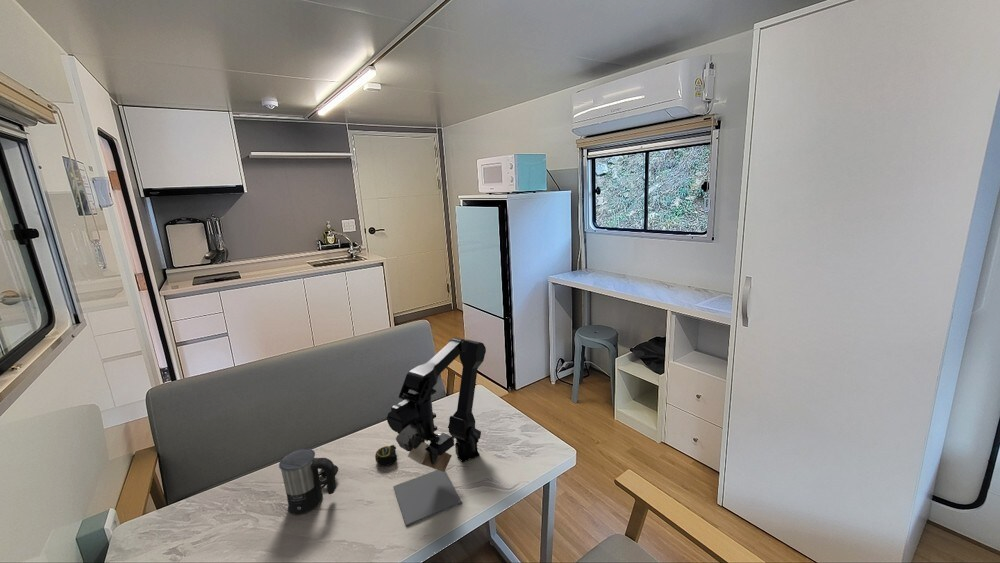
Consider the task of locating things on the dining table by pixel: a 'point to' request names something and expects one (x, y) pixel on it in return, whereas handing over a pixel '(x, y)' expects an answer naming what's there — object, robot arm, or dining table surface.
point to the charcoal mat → (426, 496)
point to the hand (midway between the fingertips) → (427, 460)
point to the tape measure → (386, 455)
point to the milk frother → (306, 479)
